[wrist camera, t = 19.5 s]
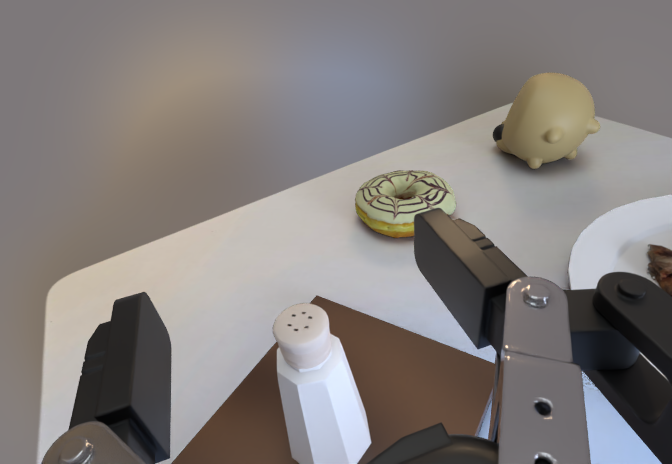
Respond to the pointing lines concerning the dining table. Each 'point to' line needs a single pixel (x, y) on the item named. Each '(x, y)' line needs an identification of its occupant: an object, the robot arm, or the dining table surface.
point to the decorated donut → (401, 200)
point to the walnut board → (373, 386)
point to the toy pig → (547, 120)
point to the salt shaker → (318, 390)
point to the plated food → (626, 245)
